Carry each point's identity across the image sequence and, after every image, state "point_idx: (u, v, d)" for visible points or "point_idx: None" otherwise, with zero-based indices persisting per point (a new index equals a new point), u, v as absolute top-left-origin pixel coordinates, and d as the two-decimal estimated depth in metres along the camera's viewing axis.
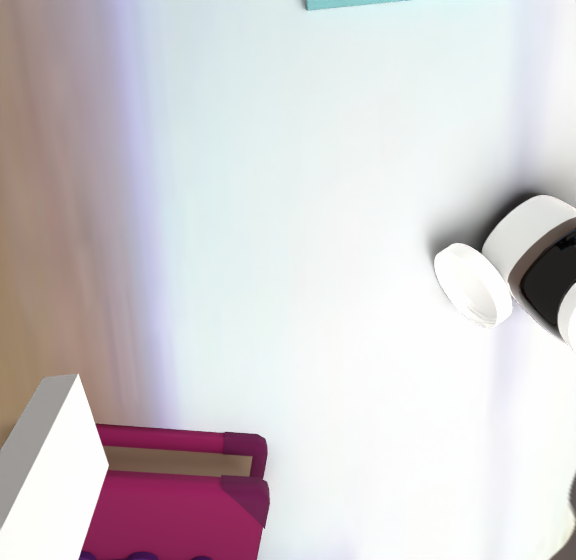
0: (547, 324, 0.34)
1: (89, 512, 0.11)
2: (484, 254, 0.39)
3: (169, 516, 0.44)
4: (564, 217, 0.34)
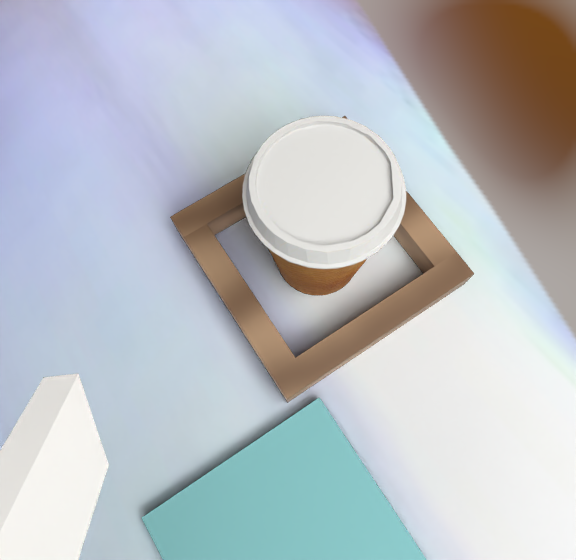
0: None
1: (89, 512, 0.11)
2: None
3: None
4: None
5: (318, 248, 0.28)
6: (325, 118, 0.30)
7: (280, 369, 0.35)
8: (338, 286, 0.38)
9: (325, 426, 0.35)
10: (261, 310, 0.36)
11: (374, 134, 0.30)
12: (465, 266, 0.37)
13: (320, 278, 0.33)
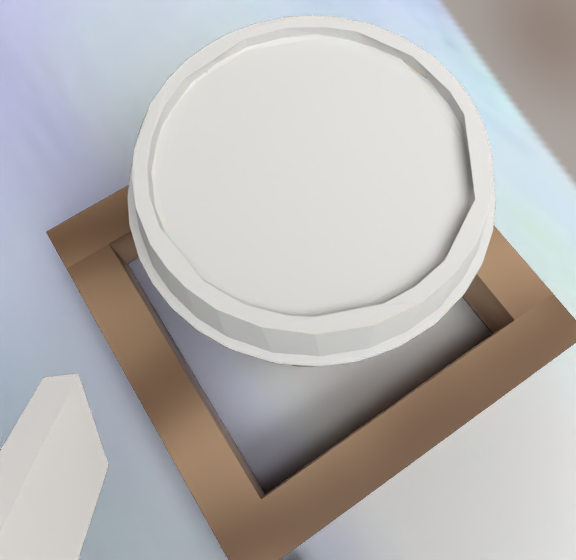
0: None
1: (89, 512, 0.11)
2: None
3: None
4: None
5: (294, 324, 0.11)
6: (312, 21, 0.14)
7: (232, 523, 0.19)
8: None
9: None
10: (200, 405, 0.20)
11: (423, 53, 0.13)
12: (570, 320, 0.21)
13: None
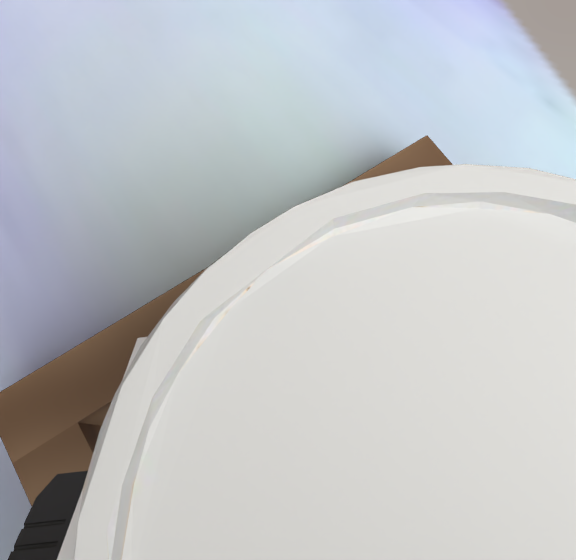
0: None
1: None
2: None
3: None
4: None
5: None
6: (477, 177, 0.06)
7: None
8: None
9: None
10: None
11: None
12: None
13: None
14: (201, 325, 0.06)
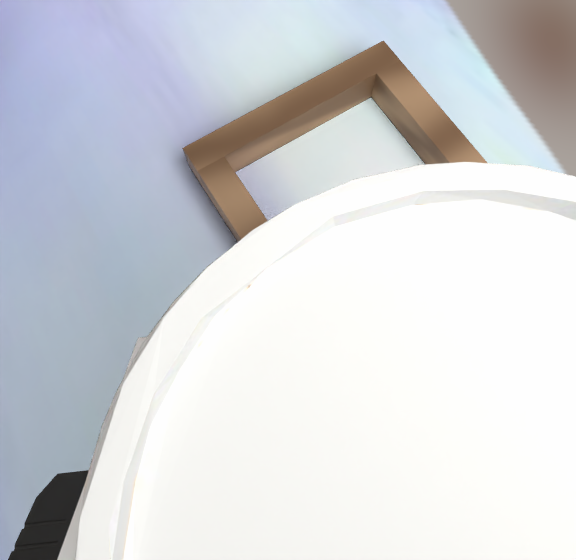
0: None
1: None
2: None
3: None
4: None
5: None
6: (477, 175, 0.06)
7: None
8: None
9: None
10: None
11: None
12: None
13: None
14: (202, 323, 0.06)
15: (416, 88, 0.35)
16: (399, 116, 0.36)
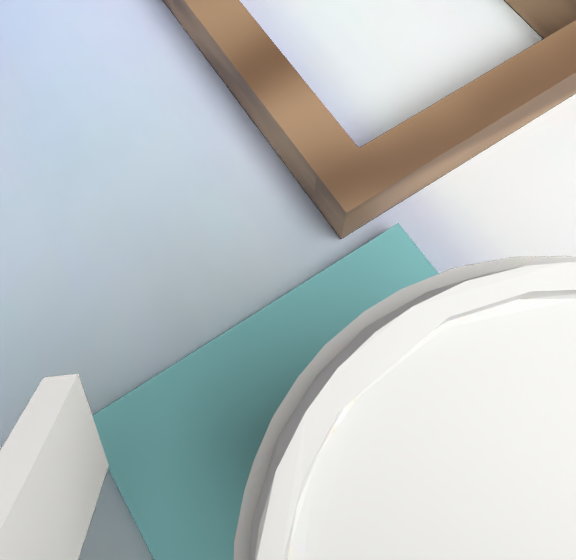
0: None
1: (89, 512, 0.11)
2: None
3: None
4: None
5: None
6: None
7: (333, 166, 0.20)
8: None
9: (411, 268, 0.20)
10: (297, 77, 0.21)
11: None
12: None
13: None
14: (336, 415, 0.07)
15: None
16: None
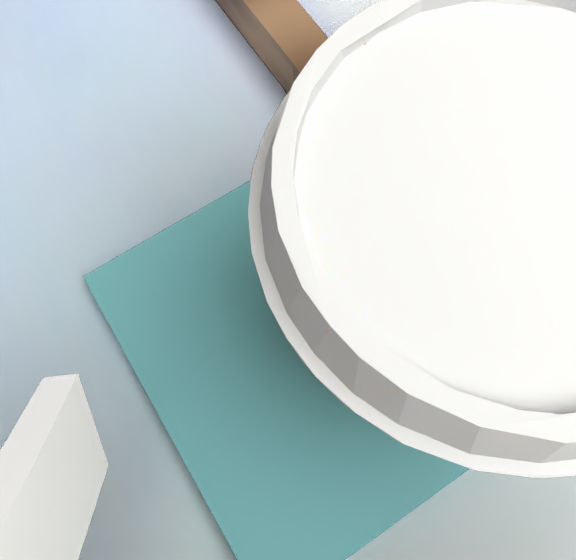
0: None
1: (89, 512, 0.11)
2: None
3: None
4: None
5: (531, 425, 0.07)
6: None
7: (308, 57, 0.22)
8: None
9: None
10: None
11: None
12: None
13: None
14: (338, 57, 0.09)
15: None
16: None
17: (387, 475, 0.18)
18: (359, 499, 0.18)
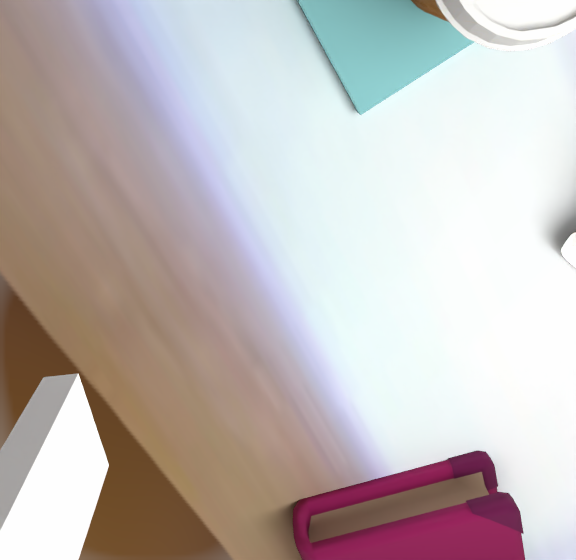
0: None
1: (89, 512, 0.11)
2: None
3: (435, 549, 0.49)
4: None
5: (512, 34, 0.23)
6: None
7: None
8: None
9: None
10: None
11: None
12: None
13: None
14: None
15: None
16: None
17: (427, 47, 0.34)
18: (411, 60, 0.35)
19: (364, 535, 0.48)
